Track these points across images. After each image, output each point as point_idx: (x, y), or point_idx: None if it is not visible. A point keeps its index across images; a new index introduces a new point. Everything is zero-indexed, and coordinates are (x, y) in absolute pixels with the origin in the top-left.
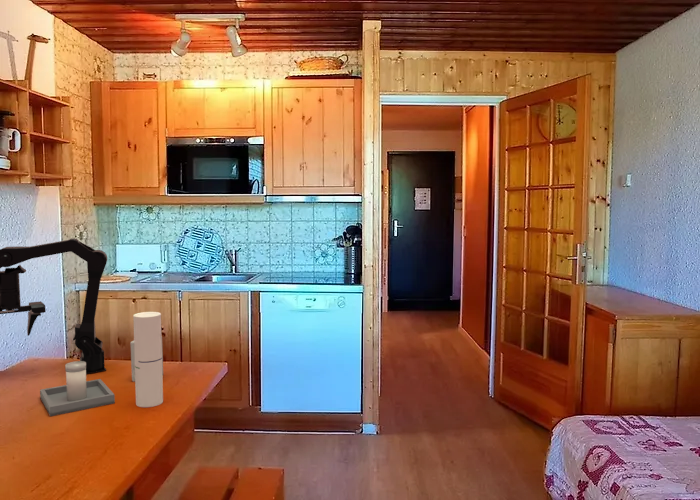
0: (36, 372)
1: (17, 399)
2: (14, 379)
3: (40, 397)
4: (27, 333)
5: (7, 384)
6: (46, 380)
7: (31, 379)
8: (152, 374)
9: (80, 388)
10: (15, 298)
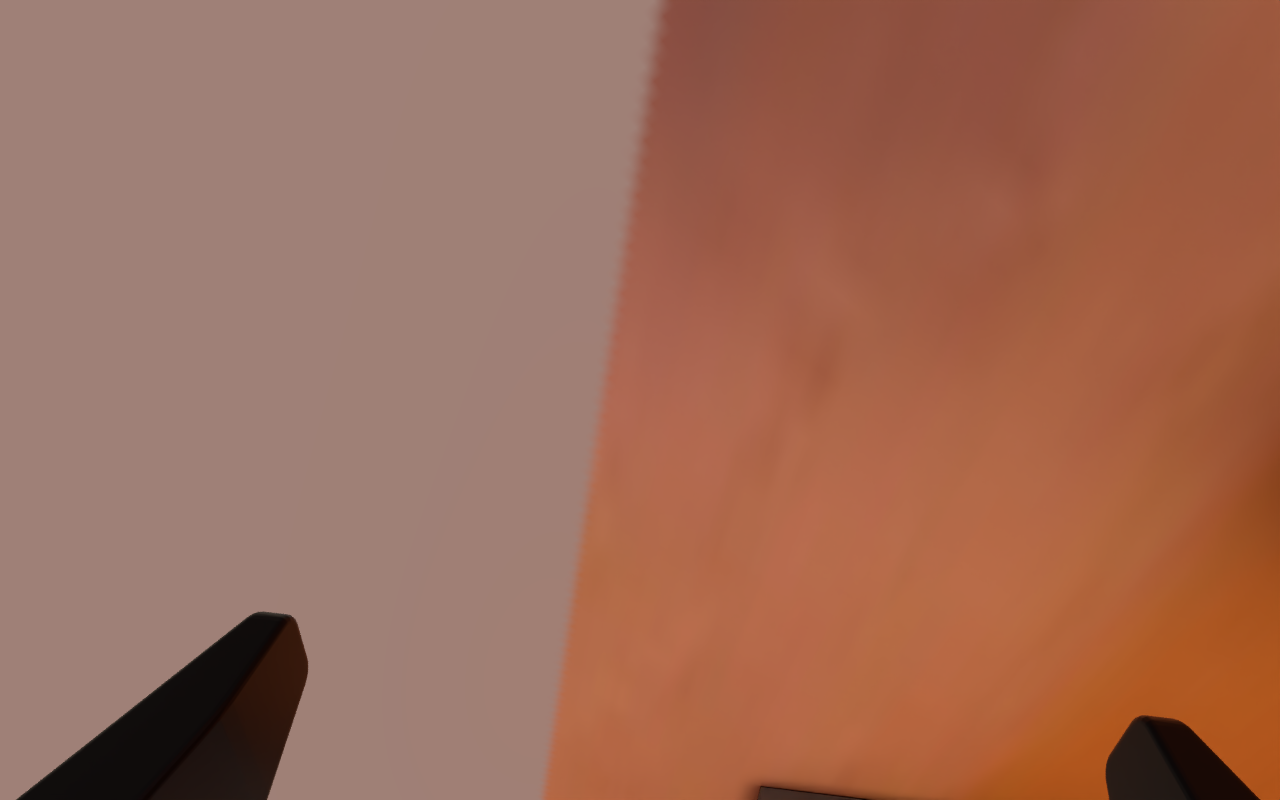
0: (1050, 130)
1: (629, 729)
2: (722, 261)
3: (760, 797)
4: (1155, 760)
5: (623, 387)
6: (974, 500)
7: (873, 381)
8: None
9: None
10: None
